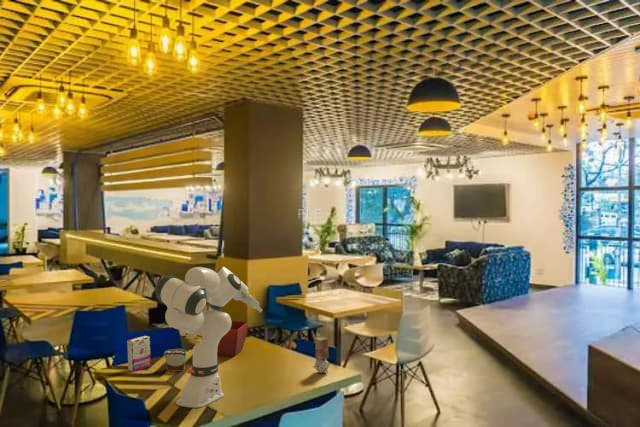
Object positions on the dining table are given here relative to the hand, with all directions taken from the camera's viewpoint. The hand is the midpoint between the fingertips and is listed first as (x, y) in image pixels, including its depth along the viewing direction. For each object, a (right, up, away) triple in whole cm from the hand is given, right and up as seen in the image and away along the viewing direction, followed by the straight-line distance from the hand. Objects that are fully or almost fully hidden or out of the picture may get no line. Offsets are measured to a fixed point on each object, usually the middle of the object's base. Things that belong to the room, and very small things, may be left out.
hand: (258, 309), depth 258 cm
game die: (+32, -34, +4) cm, 47 cm away
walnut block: (+32, -26, +4) cm, 41 cm away
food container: (-45, -34, +13) cm, 58 cm away
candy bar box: (-66, -35, +14) cm, 76 cm away
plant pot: (-23, -34, +40) cm, 57 cm away
